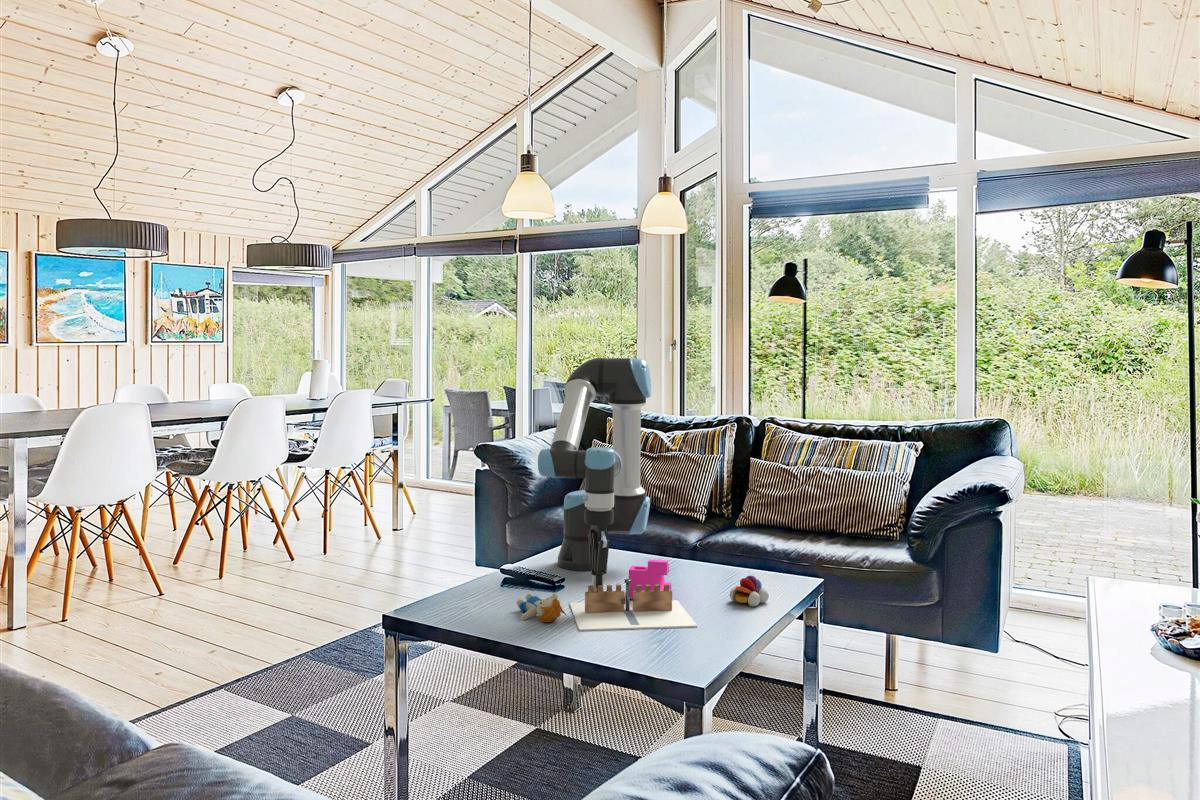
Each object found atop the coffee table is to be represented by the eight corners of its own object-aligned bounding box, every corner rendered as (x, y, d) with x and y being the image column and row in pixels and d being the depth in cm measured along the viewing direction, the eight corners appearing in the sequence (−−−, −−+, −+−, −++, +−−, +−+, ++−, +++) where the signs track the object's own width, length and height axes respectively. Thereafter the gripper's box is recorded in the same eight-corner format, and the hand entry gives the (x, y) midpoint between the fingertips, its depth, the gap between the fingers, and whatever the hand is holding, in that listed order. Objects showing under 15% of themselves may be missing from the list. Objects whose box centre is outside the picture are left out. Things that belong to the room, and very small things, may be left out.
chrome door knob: (623, 610, 220) (623, 579, 220) (630, 609, 220) (630, 578, 220) (624, 612, 218) (625, 580, 218) (631, 611, 219) (632, 580, 218)
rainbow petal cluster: (725, 603, 229) (726, 576, 229) (745, 595, 236) (746, 569, 236) (752, 610, 223) (753, 582, 223) (772, 602, 230) (772, 575, 230)
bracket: (666, 600, 229) (666, 562, 228) (628, 598, 231) (628, 560, 230) (671, 590, 240) (672, 553, 240) (635, 587, 242) (636, 551, 242)
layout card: (570, 604, 225) (570, 602, 225) (677, 601, 229) (677, 599, 229) (579, 631, 205) (579, 629, 204) (697, 627, 209) (697, 625, 209)
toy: (539, 581, 224) (570, 589, 211) (548, 601, 225) (579, 610, 212) (503, 605, 217) (532, 614, 205) (511, 625, 218) (541, 636, 206)
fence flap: (623, 609, 220) (624, 584, 220) (625, 611, 218) (625, 585, 218) (584, 610, 218) (584, 585, 218) (585, 612, 217) (586, 587, 216)
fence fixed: (633, 611, 219) (634, 586, 219) (632, 610, 220) (633, 584, 220) (671, 610, 220) (672, 585, 220) (670, 608, 222) (671, 583, 221)
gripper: (578, 504, 224) (577, 592, 225) (591, 513, 212) (589, 607, 213) (606, 503, 226) (604, 590, 228) (620, 512, 214) (618, 605, 215)
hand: (597, 598), depth 220 cm, fingers closed
